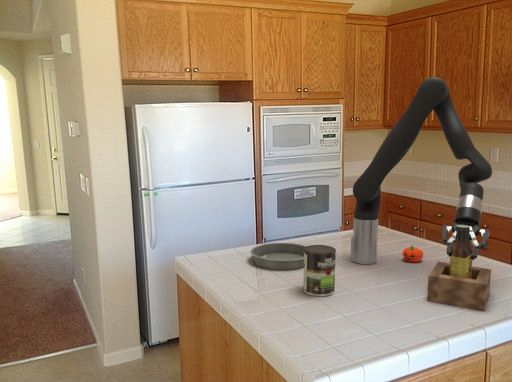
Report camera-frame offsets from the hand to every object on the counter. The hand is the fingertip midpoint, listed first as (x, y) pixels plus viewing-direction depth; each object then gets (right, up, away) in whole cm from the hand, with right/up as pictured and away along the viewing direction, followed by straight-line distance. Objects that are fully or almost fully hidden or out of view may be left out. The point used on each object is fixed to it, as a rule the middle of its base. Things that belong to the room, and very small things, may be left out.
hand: (461, 256), depth 145 cm
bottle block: (0, -13, +3) cm, 13 cm away
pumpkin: (-2, -7, +40) cm, 40 cm away
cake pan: (-53, -8, +40) cm, 67 cm away
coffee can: (-43, -12, +8) cm, 45 cm away
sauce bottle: (0, -10, +2) cm, 11 cm away
